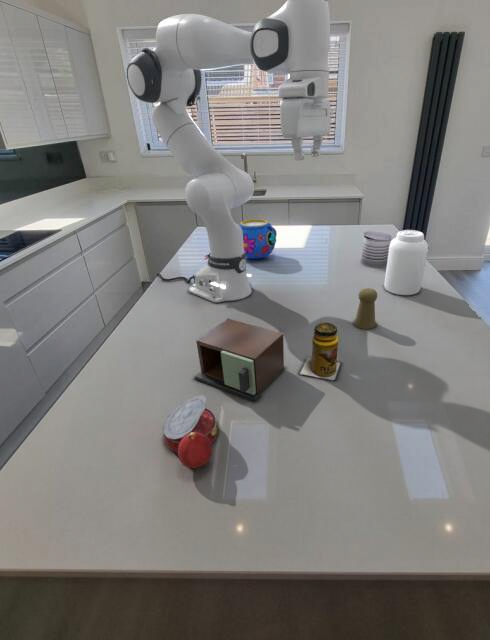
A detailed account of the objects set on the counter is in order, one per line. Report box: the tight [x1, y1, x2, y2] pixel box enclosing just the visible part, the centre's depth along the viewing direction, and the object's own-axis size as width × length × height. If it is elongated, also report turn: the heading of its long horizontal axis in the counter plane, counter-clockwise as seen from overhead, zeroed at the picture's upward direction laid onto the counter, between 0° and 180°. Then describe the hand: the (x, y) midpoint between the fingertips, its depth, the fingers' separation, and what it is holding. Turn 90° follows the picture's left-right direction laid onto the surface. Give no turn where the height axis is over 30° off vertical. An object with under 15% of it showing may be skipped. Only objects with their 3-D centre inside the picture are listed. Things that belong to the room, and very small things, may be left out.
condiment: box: [299, 322, 341, 381], centre depth 88 cm, size 7×8×12 cm
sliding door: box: [221, 351, 256, 395], centre depth 80 cm, size 8×3×9 cm, turn 61°
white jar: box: [383, 229, 429, 296], centre depth 127 cm, size 12×12×20 cm
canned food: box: [162, 394, 218, 454], centre depth 71 cm, size 11×10×10 cm
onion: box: [177, 432, 213, 469], centre depth 65 cm, size 6×6×8 cm
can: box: [361, 230, 394, 268], centre depth 153 cm, size 11×11×12 cm
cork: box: [354, 287, 378, 330], centre depth 108 cm, size 6×6×11 cm
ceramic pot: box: [238, 218, 278, 260], centre depth 159 cm, size 18×18×15 cm
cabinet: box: [194, 318, 285, 402], centre depth 87 cm, size 17×14×10 cm
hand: (307, 158), depth 90 cm, fingers open, 8 cm apart
